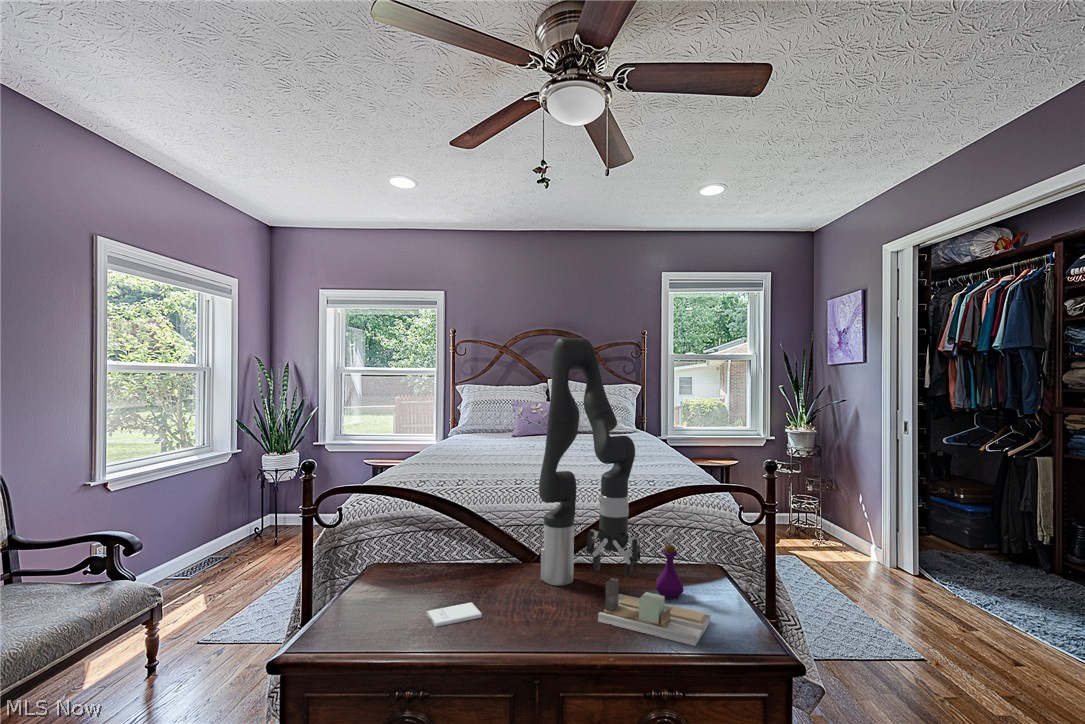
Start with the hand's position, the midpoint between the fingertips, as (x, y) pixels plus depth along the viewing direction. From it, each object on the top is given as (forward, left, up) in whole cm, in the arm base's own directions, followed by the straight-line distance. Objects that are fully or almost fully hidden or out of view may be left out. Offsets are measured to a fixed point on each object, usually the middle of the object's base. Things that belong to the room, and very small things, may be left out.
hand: (612, 573), depth 149 cm
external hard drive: (-36, -21, -12) cm, 43 cm away
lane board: (+10, +3, -11) cm, 16 cm away
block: (+11, 0, -9) cm, 14 cm away
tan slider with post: (+7, 0, -10) cm, 12 cm away
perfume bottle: (+9, +21, -12) cm, 26 cm away
